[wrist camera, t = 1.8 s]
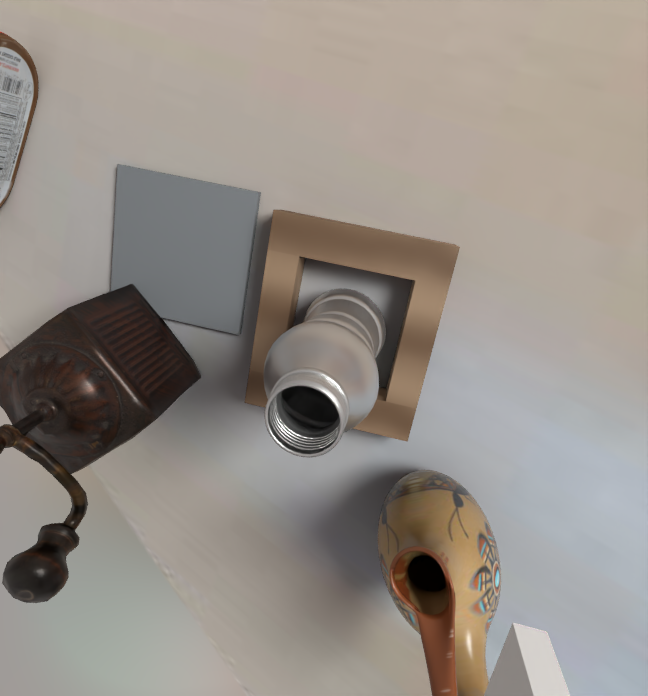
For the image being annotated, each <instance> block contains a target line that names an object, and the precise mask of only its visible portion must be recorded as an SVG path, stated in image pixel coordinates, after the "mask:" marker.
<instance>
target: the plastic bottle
mask: <svg viewBox="0 0 648 696" xmlns="http://www.w3.org/2000/svg"><path fill="white" fill-rule="evenodd" d="M385 337H386V326H385V322H384V318H383V316H382V313H381V311H380V310H379V308H378V307H377V305H376V304H375V303H374V302H373V301H372V300H371V299H370V298H368V297H367V296H365V295H364V294H362V293H360V292H358V291H355V290H350V289H335V290H330V291H328V292H325V293H323V294H322V295H320V296H319V297H317V298H316V299H315V300H314V301H313V302H312V303H311V305H310V307H309V308H308V310H307V313H306V315H305V318H304V322H303V323H301V324H299V325H296V326H294V327H292V328H291V329H289V330H288V331H286V332H285V333H283V334H282V335H281V336H280V337H279V338H278V339H277V340H276V341H275V342H274V343H273V345H272V346H271V348H270V350H269V352H268V354H267V357H266V360H265V365H264V387H265V391H266V395H267V398H268V401H267V404H266V408H265V424H266V427H267V430H268V432H269V434H270V436H271V437H272V439H273V440H274V441H275V442H276V443H277V444H278V445H279V446H280V447H281V448H282V449H284V450H285V451H287V452H289V453H291V454H294V455H297V456H301V457H316V456H320V455H323V454H325V453H327V452H329V451H330V450H331V449H333V448H334V447H335V446H336V444H337V443H338V442H339V440H340V439H341V437H342V434H343V433H344V432H347V431H349V430H350V429H352V428H354V427H355V426H356V425H358V424H359V423H360V422H361V421H362V420H363V419H365V418H366V417H367V415H368V414H369V413H370V411H371V410H372V408H373V406H374V404H375V402H376V399H377V395H378V390H379V376H378V368H377V364H376V360H375V359H376V357H377V356H378V354H379V353H380V351H381V350H382V347H383V345H384V342H385Z"/></svg>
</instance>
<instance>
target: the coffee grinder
mask: <svg viewBox="0 0 648 696" xmlns="http://www.w3.org/2000/svg"><path fill="white" fill-rule="evenodd" d="M200 378H201V374H200V372H199V370H198V368H197V367H196V365H195V363H194V361H193V359H192V358H191V357H190V355H189V354H188V353H187V351H186V350H185V349H184V347H183V346H182V344H181V343H180V342H179V341H178V339H177V338H176V337H175V335H174V334H173V333H172V331H171V330H170V329H169V327H168V326H167V325H166V323H165V322H164V321H163V320H162V318H161V317H160V316H159V315H158V314H157V312H156V311H155V310H154V309H153V308H152V306H151V305H150V304H149V303H148V301H147V300H146V299H145V298H144V297H143V295H142V294H141V293H140V292H139V291H138V289H137V288H136V287H135V286H134V285H133V284H129V285H127V286H125V287H122V288H119V289H117V290H114V291H111V292H108V293H106V294H103V295H100V296H98V297H95V298H93V299H90V300H87V301H85V302H82V303H80V304H77V305H75V306H72V307H69V308H67V309H66V310H64V311H63V312H61V313H60V314H58V315H57V316H55V317H54V318H52V319H51V320H49V321H48V322H46V323H45V324H44V325H43V326H41V327H40V328H39V329H37V330H36V331H35V332H34V333H32V334H31V335H30V336H28V337H27V338H26V339H25V340H23V341H22V342H21V343H19V344H18V345H17V346H16V347H14V348H13V349H12V350H10V351H9V352H8V353H6V354H5V355H4V356H3V357H1V358H0V406H1V407H2V408H3V409H4V410H5V412H6V414H7V416H8V417H9V419H10V421H11V422H12V424H13V425H7V424H6V425H3V426H1V427H0V454H1V452H2V451H3V449H4V448H9V447H14V448H16V449H17V450H19V451H21V452H23V453H24V454H26V455H27V456H28V457H29V458H31V459H33V460H35V461H37V462H39V463H40V464H41V465H42V466H43V467H44V468H45V469H46V470H47V471H48V472H50V473H51V474H52V475H53V476H54V477H55V478H56V479H57V480H58V481H59V482H60V483H61V484H62V485H63V486H64V488H65V489H66V490H67V491H68V493H69V495H70V496H71V502H72V508H71V512H70V514H69V515H68V517H67V518H66V520H65V521H64V523H54V524H49V525H45V526H43V527H42V528H41V530H40V532H39V535H38V541H37V543H36V544H35V545H34V546H32V547H31V548H30V549H28V550H26V551H24V552H22V553H19V554H17V555H15V556H14V557H13V558H12V559H11V560H10V561H9V562H7V565H6V568H5V571H4V573H3V582H2V583H3V585H4V586H5V588H6V589H7V590H8V592H9V593H10V594H11V595H12V596H13V598H15V599H18V600H20V601H23V602H27V603H38V602H45V601H48V600H49V599H50V598H52V597H53V596H55V595H56V594H57V593H58V592H59V591H60V590H61V589H62V588H63V587H64V585H65V583H66V581H67V579H68V568H67V564H66V556H67V555H68V553H69V552H70V551H72V550H73V549H74V548H76V547H77V546H78V544H79V536H78V535H77V534H76V532H75V529H76V528H77V527H78V525H79V524H80V522H81V520H82V519H83V517H84V515H85V514H86V510H87V505H88V502H87V496H86V493H85V491H84V490H83V488H82V487H81V486H80V484H79V483H78V481H76V479H75V478H74V477H73V476H72V475H71V474H72V473H74V472H76V471H79V470H81V469H83V468H84V467H86V466H88V465H90V464H91V463H93V462H94V461H96V460H97V459H99V458H101V457H102V456H104V455H105V454H107V453H109V452H110V451H112V450H113V449H115V448H117V447H118V446H120V445H122V444H124V443H125V442H127V441H129V440H130V439H132V438H133V437H135V436H136V435H137V434H138V433H140V432H141V431H142V430H143V429H145V428H146V427H147V426H148V425H149V424H151V423H152V422H153V421H155V420H156V419H157V418H158V417H159V416H160V415H161V414H162V413H163V412H164V411H165V410H166V409H167V408H168V407H169V406H170V405H171V404H172V403H173V402H174V401H175V400H176V399H177V398H178V397H179V396H180V395H181V394H183V393H184V392H185V391H186V390H187V389H188V388H189V387H190V386H192V385H193V384H194V383H195V382H196V381H198V380H199V379H200Z"/></svg>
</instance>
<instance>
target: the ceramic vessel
mask: <svg viewBox="0 0 648 696" xmlns="http://www.w3.org/2000/svg"><path fill="white" fill-rule="evenodd" d="M378 553H379V560H380V565H381V569H382V573H383V577H384V580H385V583H386V586H387V588H388V591H389V593H390V595H391V597H392V599H393V601H394V603H395V605H396V606H397V608H398V610H399V611H400V613H401V614H402V615H403V617H404V618H405V619H406V621H407V622H408V623H409V624H410V625H411V626H412V627H413V628H414V629H415V630H416V631H417V632H418V633H419V634H420V635H421V639H422V643H423V648H424V653H425V658H426V663H427V668H428V674H429V679H430V685H431V691H432V696H484V694H485V691H486V689H487V686H488V684H489V681H488V676H487V669H486V659H485V647H486V638H487V633H488V630H489V627H490V625H491V622H492V620H493V618H494V615H495V612H496V610H497V606H498V602H499V597H500V589H501V568H500V560H499V554H498V549H497V545H496V542H495V538H494V535H493V532H492V530H491V527H490V525H489V523H488V521H487V519H486V517H485V515H484V513H483V511H482V510H481V508H480V506H479V505H478V503H477V502H476V501H475V499H474V498H473V497H472V496H471V494H470V493H469V492H468V491H467V490H466V489H465V488H464V487H463V486H462V485H460V484H459V483H458V482H457V481H455V480H454V479H452V478H451V477H449V476H447V475H445V474H442V473H440V472H436V471H432V470H419V471H414V472H411V473H409V474H407V475H405V476H404V477H402V478H401V479H400V480H399V481H397V482H396V483H395V485H394V486H393V487H392V488H391V490H390V491H389V493H388V495H387V497H386V499H385V501H384V504H383V506H382V510H381V513H380V518H379V524H378Z"/></svg>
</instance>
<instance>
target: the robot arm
mask: <svg viewBox="0 0 648 696" xmlns="http://www.w3.org/2000/svg"><path fill="white" fill-rule="evenodd" d="M484 696H570V694H569V691H568V688H567V685H566V683H565V680H564V677H563V674H562V672H561V669H560V666H559V663H558V661H557V658H556V655H555V652H554V649H553V647H552V644H551V641H550V638H549V636H548V633H547V632H546V631H543V630H539V629H535V628H531V627H527V626H524V625H520V624H516V623H512V626H511V628H510V631H509V633H508V636H507V638H506V641H505V643H504V646H503V649H502V651H501V654H500V656H499V659H498V661H497V664H496V666H495V669H494V671H493V674H492V676H491V679H490V681H489V684H488V686H487V689H486V691H485V694H484Z"/></svg>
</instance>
